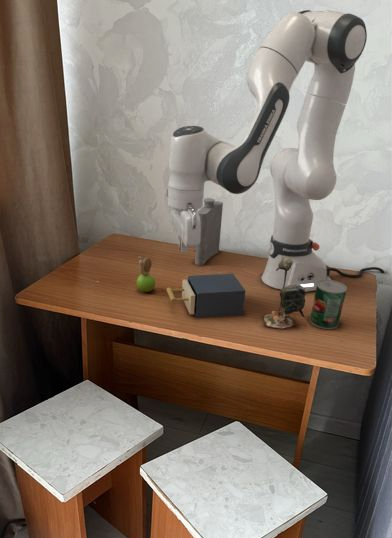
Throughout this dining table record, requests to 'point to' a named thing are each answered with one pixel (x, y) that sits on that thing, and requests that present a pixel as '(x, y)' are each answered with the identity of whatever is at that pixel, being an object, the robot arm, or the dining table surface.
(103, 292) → the dining table surface
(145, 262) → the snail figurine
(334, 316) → the canned tomato
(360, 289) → the dining table surface
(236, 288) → the cabinet
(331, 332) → the dining table surface
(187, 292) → the drawer
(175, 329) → the dining table surface
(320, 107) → the robot arm
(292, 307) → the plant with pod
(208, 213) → the hip flask
